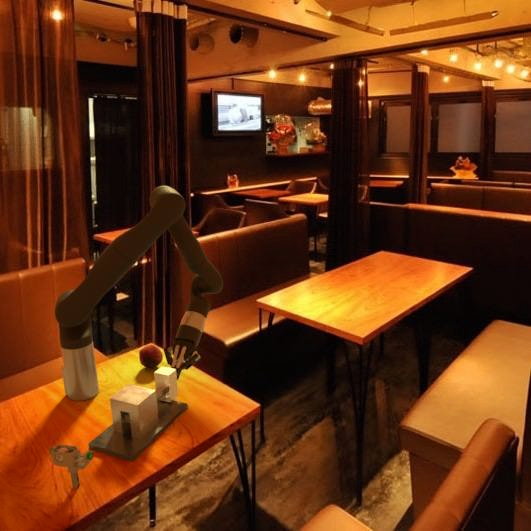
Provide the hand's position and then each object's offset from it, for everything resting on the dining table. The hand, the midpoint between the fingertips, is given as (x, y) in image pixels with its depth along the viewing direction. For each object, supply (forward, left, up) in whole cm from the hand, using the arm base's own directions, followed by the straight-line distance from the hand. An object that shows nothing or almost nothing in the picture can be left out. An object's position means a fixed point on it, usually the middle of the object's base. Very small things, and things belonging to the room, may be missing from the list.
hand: (172, 380), depth 152 cm
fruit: (-18, +14, -6) cm, 23 cm away
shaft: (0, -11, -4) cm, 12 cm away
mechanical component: (0, -41, -6) cm, 42 cm away
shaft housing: (0, -16, -6) cm, 17 cm away
